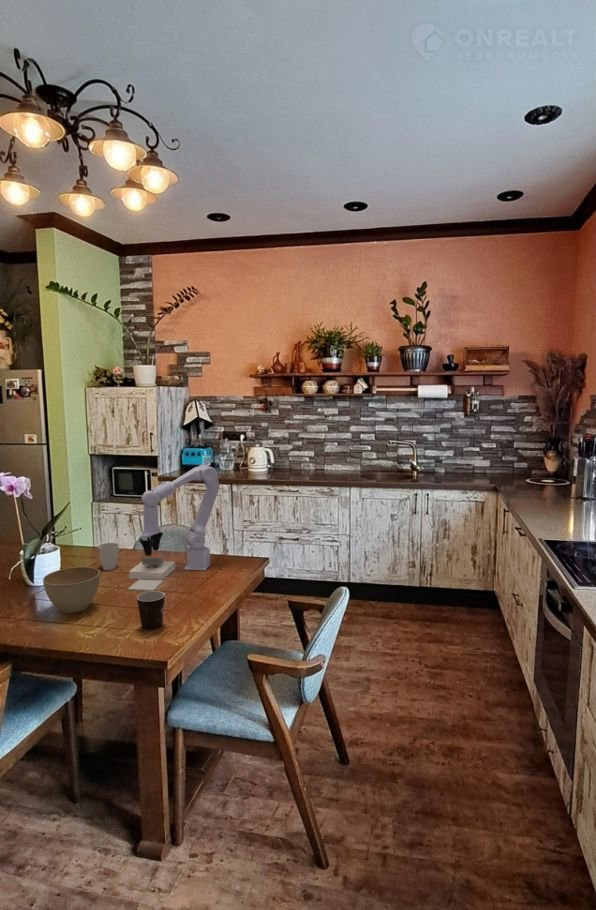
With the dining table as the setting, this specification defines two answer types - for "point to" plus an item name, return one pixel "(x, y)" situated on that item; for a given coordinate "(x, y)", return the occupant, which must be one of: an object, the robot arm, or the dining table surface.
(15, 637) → the dining table surface
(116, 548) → the cup
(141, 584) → the grey mat
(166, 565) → the key housing
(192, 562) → the robot arm
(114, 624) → the dining table surface
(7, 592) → the dining table surface
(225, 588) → the dining table surface
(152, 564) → the t key
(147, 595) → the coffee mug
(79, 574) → the brown bowl
